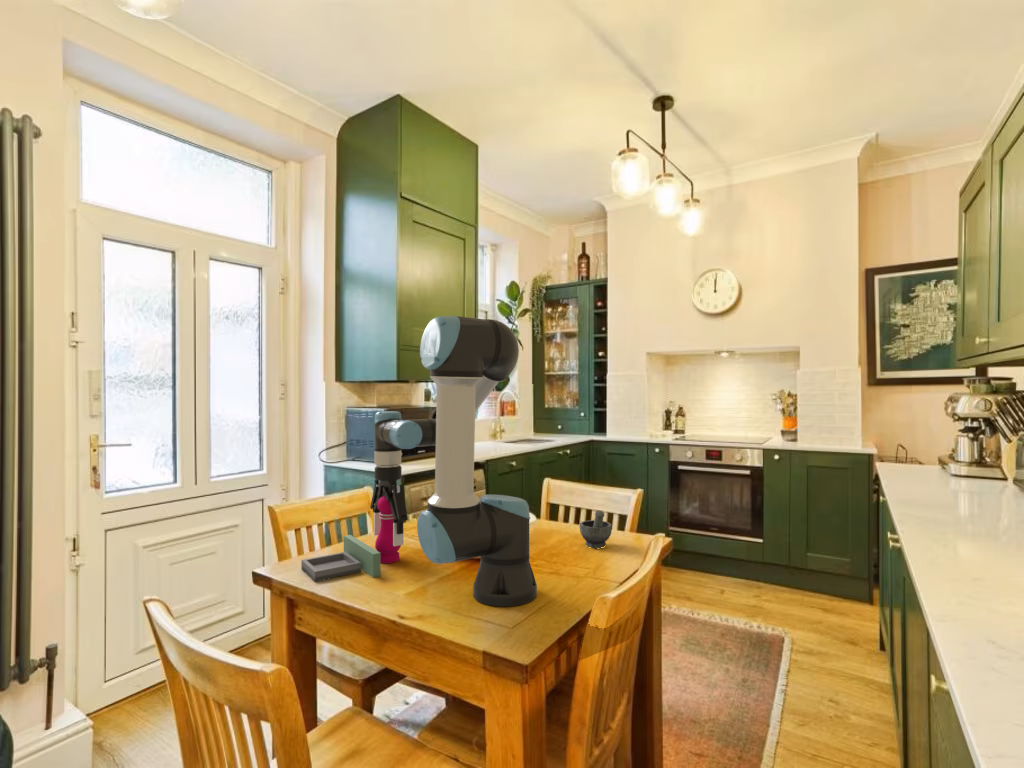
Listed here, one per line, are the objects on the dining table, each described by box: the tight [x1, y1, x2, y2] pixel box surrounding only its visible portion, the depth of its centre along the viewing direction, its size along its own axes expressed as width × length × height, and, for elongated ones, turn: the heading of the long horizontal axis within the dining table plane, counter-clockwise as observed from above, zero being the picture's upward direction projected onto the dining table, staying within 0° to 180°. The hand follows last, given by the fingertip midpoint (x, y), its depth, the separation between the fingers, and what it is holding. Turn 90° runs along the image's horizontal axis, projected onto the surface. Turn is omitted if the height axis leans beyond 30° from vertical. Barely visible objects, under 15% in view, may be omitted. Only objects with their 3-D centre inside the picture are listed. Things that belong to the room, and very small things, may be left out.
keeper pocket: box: [300, 551, 362, 582], centre depth 144 cm, size 12×12×2 cm
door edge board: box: [343, 534, 381, 578], centre depth 148 cm, size 22×2×6 cm, turn 37°
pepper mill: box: [374, 496, 402, 564], centre depth 153 cm, size 7×7×20 cm
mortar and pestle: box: [579, 510, 613, 548], centre depth 165 cm, size 11×9×12 cm
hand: (388, 539), depth 153 cm, fingers open, 13 cm apart
